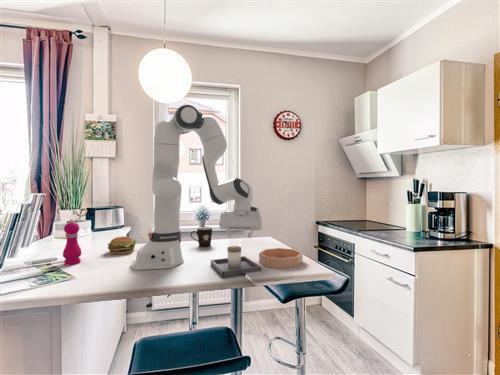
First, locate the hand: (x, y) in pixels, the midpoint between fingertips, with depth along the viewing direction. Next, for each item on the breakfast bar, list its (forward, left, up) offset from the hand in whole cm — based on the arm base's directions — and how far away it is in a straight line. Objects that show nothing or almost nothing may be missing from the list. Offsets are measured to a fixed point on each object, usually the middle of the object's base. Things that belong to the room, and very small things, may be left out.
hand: (239, 236), depth 134 cm
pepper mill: (-71, +26, -11) cm, 76 cm away
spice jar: (-6, -11, -10) cm, 16 cm away
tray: (-6, -11, -11) cm, 17 cm away
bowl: (+15, -12, -11) cm, 22 cm away
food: (-51, +40, -12) cm, 66 cm away
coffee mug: (-9, +38, -11) cm, 41 cm away
